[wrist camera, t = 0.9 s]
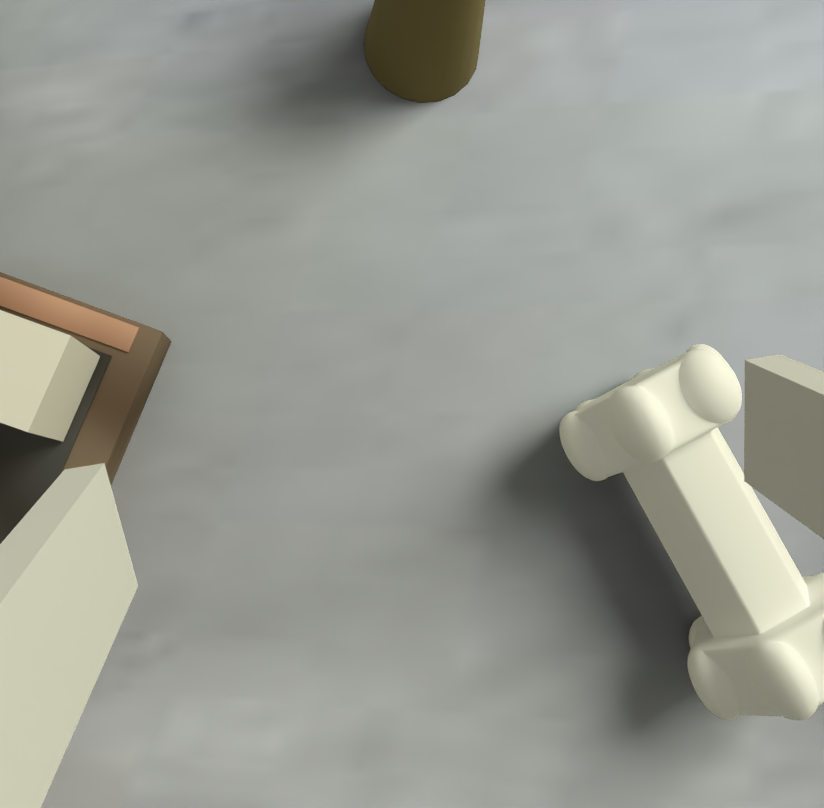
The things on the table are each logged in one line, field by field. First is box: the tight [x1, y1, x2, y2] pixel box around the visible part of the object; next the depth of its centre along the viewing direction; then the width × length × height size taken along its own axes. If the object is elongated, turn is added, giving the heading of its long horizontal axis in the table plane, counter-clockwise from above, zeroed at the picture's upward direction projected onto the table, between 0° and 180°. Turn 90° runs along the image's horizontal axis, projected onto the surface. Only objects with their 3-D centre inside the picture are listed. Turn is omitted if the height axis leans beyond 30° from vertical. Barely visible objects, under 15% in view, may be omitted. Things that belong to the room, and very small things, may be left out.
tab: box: [0, 310, 100, 442], centre depth 31 cm, size 4×4×4 cm
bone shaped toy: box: [559, 344, 824, 720], centre depth 34 cm, size 15×9×8 cm, turn 28°
